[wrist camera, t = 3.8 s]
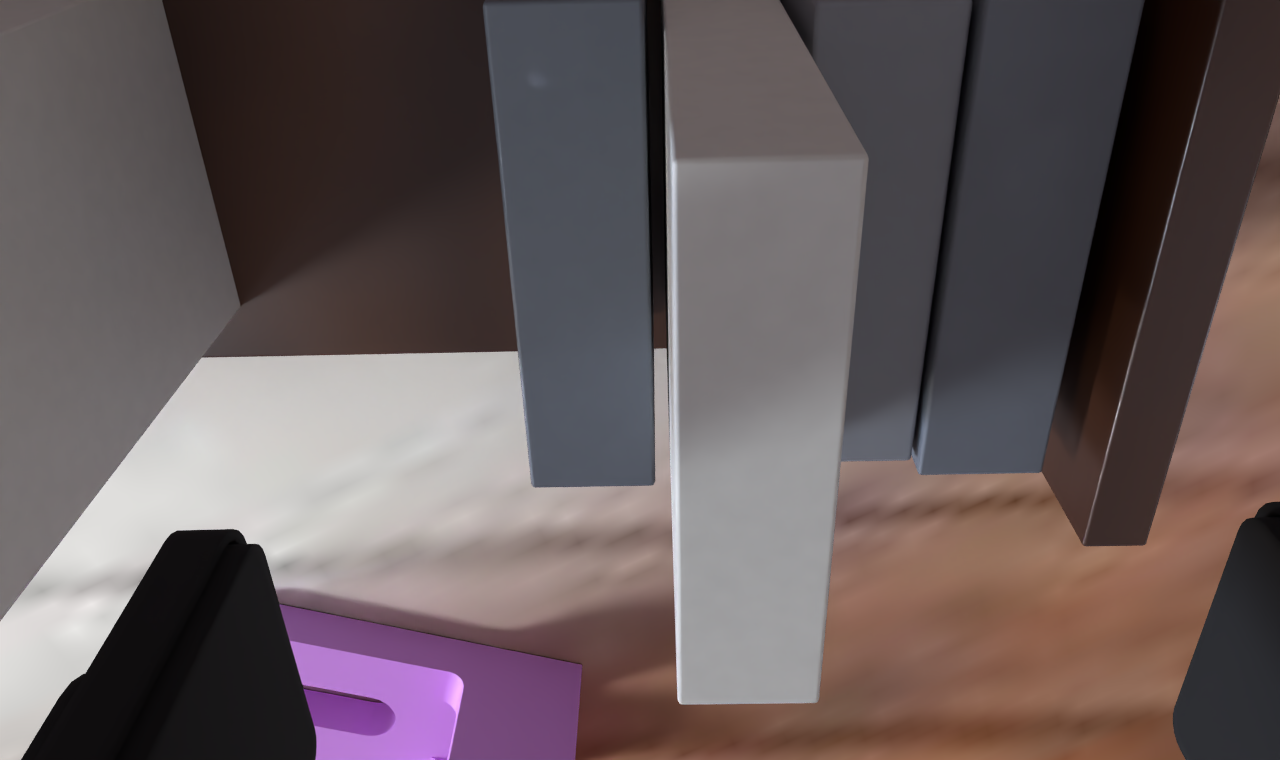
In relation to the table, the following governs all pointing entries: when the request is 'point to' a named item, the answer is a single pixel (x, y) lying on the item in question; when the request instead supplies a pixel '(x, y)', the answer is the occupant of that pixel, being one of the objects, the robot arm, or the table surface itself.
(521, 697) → the bracket
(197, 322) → the white books
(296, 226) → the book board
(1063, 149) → the grey books
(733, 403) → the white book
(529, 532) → the table surface
